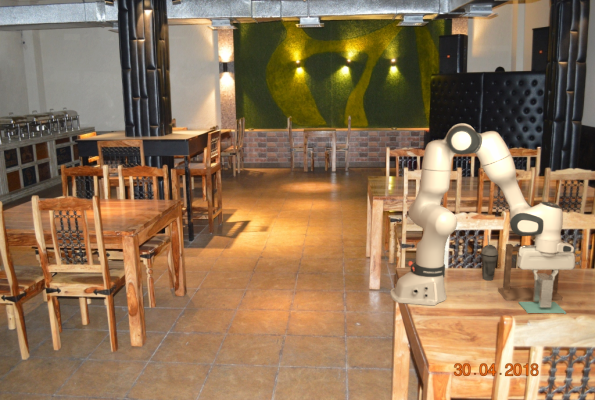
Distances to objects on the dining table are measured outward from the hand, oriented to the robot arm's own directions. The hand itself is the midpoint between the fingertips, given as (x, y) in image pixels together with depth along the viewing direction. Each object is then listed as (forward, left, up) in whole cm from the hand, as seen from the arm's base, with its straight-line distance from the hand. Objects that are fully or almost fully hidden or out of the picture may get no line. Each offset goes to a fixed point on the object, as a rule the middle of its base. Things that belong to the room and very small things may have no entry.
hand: (544, 279), depth 204 cm
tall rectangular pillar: (0, 0, -10) cm, 10 cm away
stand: (0, +12, -12) cm, 17 cm away
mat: (0, 0, -12) cm, 12 cm away
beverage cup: (-11, +31, -12) cm, 35 cm away
